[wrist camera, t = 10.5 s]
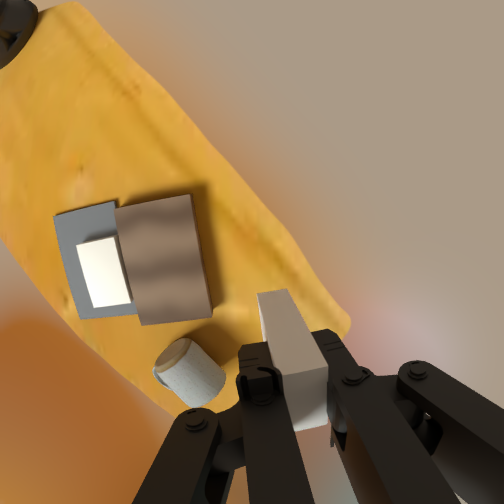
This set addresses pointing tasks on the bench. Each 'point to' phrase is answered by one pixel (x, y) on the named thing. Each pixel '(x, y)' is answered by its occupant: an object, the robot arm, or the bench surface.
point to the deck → (164, 260)
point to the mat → (69, 235)
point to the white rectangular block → (105, 271)
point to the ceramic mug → (189, 373)
